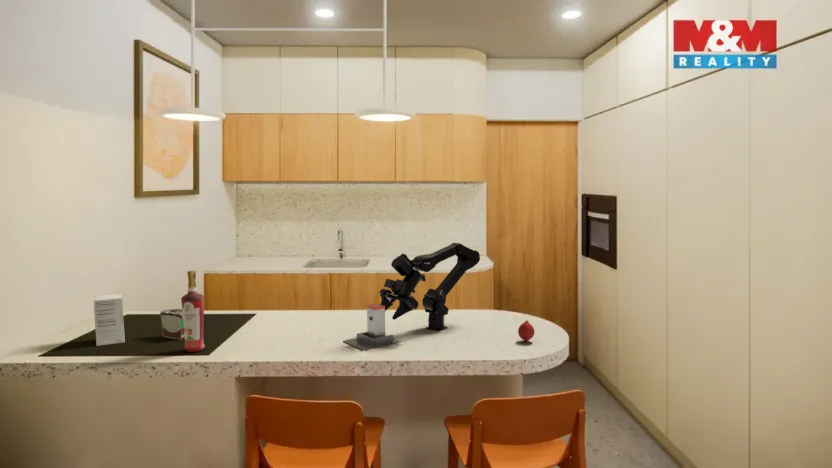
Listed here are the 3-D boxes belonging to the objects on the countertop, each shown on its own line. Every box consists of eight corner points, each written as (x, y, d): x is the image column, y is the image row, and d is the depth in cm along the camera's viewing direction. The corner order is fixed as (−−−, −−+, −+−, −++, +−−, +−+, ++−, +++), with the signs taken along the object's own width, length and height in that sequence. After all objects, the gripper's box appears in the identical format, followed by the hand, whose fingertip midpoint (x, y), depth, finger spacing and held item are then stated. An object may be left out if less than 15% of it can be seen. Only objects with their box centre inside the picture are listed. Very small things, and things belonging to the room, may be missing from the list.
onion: (524, 344, 196) (525, 322, 195) (514, 340, 201) (515, 319, 200) (537, 342, 199) (537, 320, 198) (527, 338, 204) (527, 317, 203)
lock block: (377, 337, 205) (377, 303, 203) (385, 340, 201) (384, 305, 199) (366, 339, 202) (366, 305, 200) (374, 342, 198) (373, 307, 197)
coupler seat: (379, 334, 210) (379, 327, 210) (400, 342, 199) (400, 335, 199) (343, 341, 201) (342, 334, 200) (363, 350, 190) (363, 343, 189)
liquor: (179, 353, 188) (175, 272, 185) (189, 347, 195) (186, 269, 193) (200, 353, 187) (197, 272, 185) (209, 347, 195) (206, 269, 192)
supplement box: (96, 339, 205) (93, 295, 204) (123, 336, 210) (121, 293, 208) (96, 346, 197) (93, 300, 195) (125, 342, 201) (122, 297, 200)
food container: (196, 336, 210) (195, 310, 209) (184, 340, 204) (182, 313, 203) (173, 332, 215) (172, 307, 214) (160, 336, 209) (159, 310, 208)
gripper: (382, 267, 212) (359, 300, 206) (411, 273, 197) (387, 308, 192) (399, 285, 218) (377, 316, 212) (428, 292, 203) (405, 326, 197)
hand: (385, 316), depth 203 cm, fingers open, 9 cm apart
